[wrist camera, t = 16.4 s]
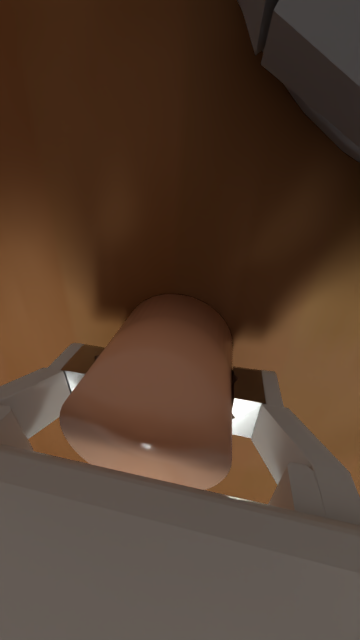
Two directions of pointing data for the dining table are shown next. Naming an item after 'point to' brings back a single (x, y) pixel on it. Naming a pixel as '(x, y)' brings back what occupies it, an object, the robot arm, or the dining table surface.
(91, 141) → the dining table surface
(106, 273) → the dining table surface
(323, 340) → the dining table surface
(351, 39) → the groove tray
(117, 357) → the brown egg
